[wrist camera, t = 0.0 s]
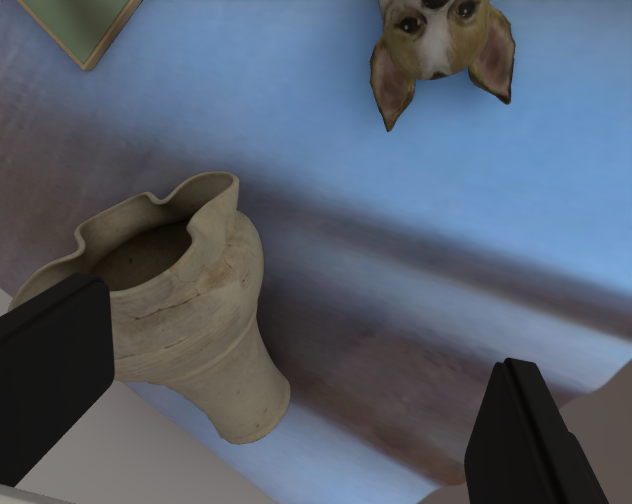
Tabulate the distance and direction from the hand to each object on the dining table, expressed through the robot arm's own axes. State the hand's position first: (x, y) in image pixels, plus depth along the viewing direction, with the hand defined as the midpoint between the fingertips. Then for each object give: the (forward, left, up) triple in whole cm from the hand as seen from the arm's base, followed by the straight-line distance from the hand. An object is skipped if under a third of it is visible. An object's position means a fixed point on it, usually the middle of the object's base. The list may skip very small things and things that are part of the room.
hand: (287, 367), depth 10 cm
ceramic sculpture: (-10, -5, -31) cm, 33 cm away
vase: (+22, +1, -31) cm, 38 cm away
